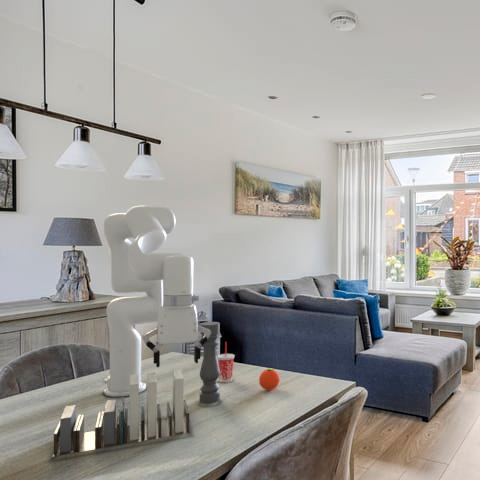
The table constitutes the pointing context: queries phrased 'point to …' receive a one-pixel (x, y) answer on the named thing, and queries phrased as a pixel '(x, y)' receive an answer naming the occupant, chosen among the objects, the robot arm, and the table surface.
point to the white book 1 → (134, 407)
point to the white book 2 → (151, 404)
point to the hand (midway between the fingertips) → (177, 363)
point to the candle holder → (210, 366)
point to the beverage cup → (225, 366)
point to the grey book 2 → (109, 422)
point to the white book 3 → (178, 400)
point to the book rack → (119, 430)
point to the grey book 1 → (67, 428)
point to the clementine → (269, 379)
